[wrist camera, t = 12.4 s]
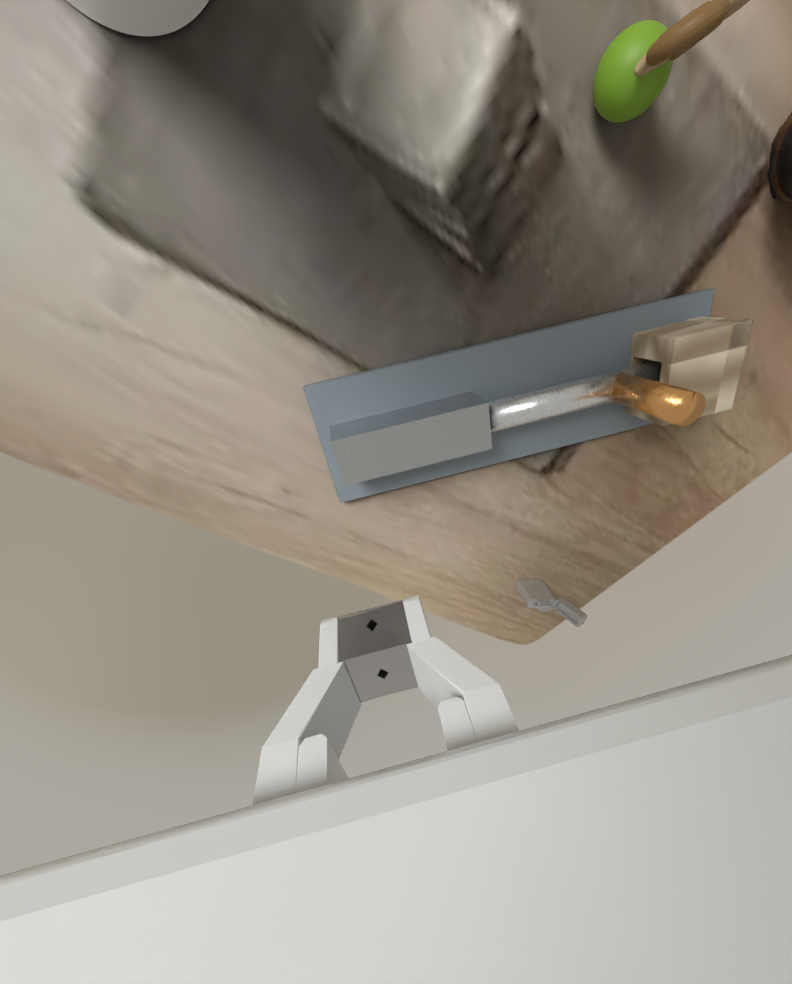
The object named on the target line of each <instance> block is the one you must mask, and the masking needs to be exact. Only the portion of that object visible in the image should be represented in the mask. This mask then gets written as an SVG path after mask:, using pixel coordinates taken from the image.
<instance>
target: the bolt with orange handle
mask: <svg viewBox="0 0 792 984" xmlns="http://www.w3.org/2000/svg"><path fill="white" fill-rule="evenodd" d="M661 366H662V362H658V361H653V362H649V363H645V364H641V365H637V366H633V367H629V368H625V369H621V370H617V371H613V372H609V373H605V374H600V375H596V376H592V377H588V378H584V379H580V380H576V381H572V382H568V383H564V384H560V385H556V386H552V387H548V388H544V389H540V390H536V391H532V392H528V393H523V394H519V395H515V396H511V397H507V398H503V399H499V400H495V401H491V402H488V403H489V415H490V427H491V432H495V431H499V430H503V429H507V428H511V427H515V426H519V425H523V424H527V423H531V422H535V421H539V420H543V419H547V418H551V417H555V416H559V415H563V414H567V413H571V412H575V411H579V410H583V409H587V408H591V407H595V406H599V405H603V404H607V403H611V402H617V403H620V404H623V405H625V406H628V407H631V408H633V409H636V410H638V411H641V412H644V413H646V414H649V415H652V416H654V417H657V418H660V419H662V420H665V421H667V422H670V423H673V424H675V425H678V426H688V425H690V424H692V423H694V422H695V421H696V420H697V419H698V418H699V417H700V416H701V415H702V413H703V411H704V409H705V406H706V399H705V396H704V395H703V394H702V393H699V392H695V391H692V390H688V389H684V388H680V387H677V386H673V385H669V384H666V383H662V382H659V380H660V373H661Z"/></svg>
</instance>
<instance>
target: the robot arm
mask: <svg viewBox="0 0 792 984" xmlns="http://www.w3.org/2000/svg"><path fill="white" fill-rule="evenodd" d="M66 1H68V2H69V3H70V4H71V5H73V6H74V7H75V8H76V9H78V10H79V11H81V12H82V13H83V14H85V15H86V16H88V17H89V18H91V19H93V20H95V21H96V22H98V23H100V24H102V25H104V26H106V27H108V28H111V29H113V30H116V31H119V32H122V33H126V34H130V35H136V36H159V35H164V34H168V33H171V32H174V31H176V30H178V29H180V28H182V27H184V26H185V25H187V24H188V23H190V22H191V21H192V20H193V19H194V18H195V17H196V16H197V15H198V14H199V13H200V12H201V11H202V10H203V9H204V7H205V6H206V4H207V3H208V1H209V0H66ZM416 687H419V689H420V690H421V691H422V692H423V693H424V695H425V696H426V697H427V698H428V699H429V700H430V701H431V702H432V703H433V704H434V705H435V706H436V707H437V708H438V711H439V715H440V719H441V724H442V728H443V732H444V736H445V741H446V745H447V749H448V751H446V752H442V753H438V754H435V755H431V756H428V757H424V758H421V759H417V760H413V761H410V762H406V763H403V764H399V765H396V766H392V767H388V768H385V769H381V770H378V771H374V772H370V773H367V774H363V775H360V776H356V777H353V778H349V779H348V777H347V775H346V773H345V771H344V769H343V767H342V765H341V763H340V761H339V757H340V755H341V752H342V750H343V747H344V745H345V743H346V740H347V738H348V736H349V733H350V730H351V728H352V726H353V723H354V721H355V718H356V716H357V714H358V711H359V709H360V706H361V703H362V702H365V701H368V700H371V699H375V698H378V697H381V696H385V695H388V694H392V693H396V692H400V691H404V690H408V689H412V688H416ZM0 984H792V655H789V656H786V657H782V658H779V659H775V660H772V661H768V662H764V663H761V664H757V665H754V666H750V667H746V668H743V669H739V670H736V671H732V672H728V673H725V674H721V675H718V676H714V677H711V678H707V679H704V680H700V681H696V682H693V683H689V684H685V685H682V686H678V687H675V688H672V689H668V690H664V691H660V692H657V693H653V694H650V695H646V696H642V697H639V698H635V699H632V700H628V701H625V702H621V703H618V704H614V705H610V706H607V707H603V708H599V709H596V710H592V711H589V712H585V713H582V714H578V715H574V716H571V717H567V718H564V719H560V720H556V721H553V722H549V723H546V724H542V725H539V726H535V727H531V728H528V729H525V730H521V731H519V730H518V727H517V725H516V723H515V720H514V718H513V716H512V713H511V711H510V709H509V706H508V704H507V702H506V699H505V697H504V694H503V692H502V690H501V688H500V685H499V684H498V683H497V682H495V681H494V680H493V679H492V678H490V677H489V676H488V675H486V674H485V673H484V672H482V671H481V670H480V669H478V668H477V667H476V666H474V665H473V664H472V663H470V662H469V661H468V660H466V659H465V658H464V657H463V656H461V655H460V654H458V653H457V652H456V651H455V650H453V649H452V648H451V647H449V646H448V645H447V644H445V643H444V642H442V641H441V640H440V639H439V638H437V637H433V638H431V635H430V631H429V628H428V625H427V621H426V618H425V614H424V611H423V607H422V604H421V600H420V597H419V596H418V595H417V596H414V597H410V598H407V599H403V602H402V600H400V601H396V602H392V603H389V604H385V605H381V606H378V607H374V608H371V609H367V610H363V611H359V612H355V613H350V614H346V615H342V616H339V617H335V618H331V619H326V620H322V622H321V625H320V643H319V668H317V669H314V670H313V671H312V673H311V674H310V676H309V677H308V679H307V680H306V682H305V683H304V685H303V686H302V688H301V689H300V691H299V693H298V694H297V695H296V697H295V699H294V700H293V702H292V703H291V705H290V706H289V708H288V709H287V711H286V712H285V714H284V715H283V717H282V718H281V720H280V721H279V723H278V725H277V726H276V728H275V729H274V731H273V732H272V734H271V735H270V737H269V738H268V740H267V741H266V743H265V744H264V746H263V747H262V752H261V758H260V764H259V770H258V776H257V782H256V789H255V795H254V801H253V805H252V806H249V807H245V808H241V809H238V810H235V811H231V812H227V813H224V814H220V815H216V816H213V817H210V818H206V819H202V820H199V821H195V822H191V823H188V824H184V825H181V826H177V827H173V828H170V829H167V830H163V831H159V832H156V833H152V834H148V835H145V836H141V837H137V838H134V839H130V840H127V841H123V842H120V843H116V844H112V845H109V846H105V847H102V848H98V849H95V850H91V851H87V852H84V853H80V854H77V855H73V856H69V857H66V858H62V859H58V860H55V861H51V862H48V863H44V864H40V865H37V866H33V867H30V868H26V869H23V870H19V871H16V872H12V873H8V874H5V875H2V876H0Z"/></svg>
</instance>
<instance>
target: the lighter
mask: <svg viewBox="0 0 792 984" xmlns="http://www.w3.org/2000/svg"><path fill="white" fill-rule="evenodd" d="M515 588H516V590H517V591H518V593H519V595H520V596H521V598H522V599H523V601H524V603H525V604H526V606H527V607H528V608H537V609H538V611H550V610H551V608H553V609H554V610H556V611H557V612H558V613H559V614H561V615H562V616H563V617H565V618H566V619H567V620H569V621H570V622H571V623H572V624H574V625H575V626H577V627H579V626H580V625H582V624H583V623H584V621H585V619H586V618H587V615H586V614H585V613H584V612H582V611H581V610H580V609H578V608H577V607H575V606H574V605H573V604H571V603H570V602H569V601H567V600H566V599H564V598H563V597H561V598H559V599H557V600H556V599H555V598H554V596H553V595H552V594H551V592H550V591H549V590H548V588H547V587H546V586H545V584H544V583H543V581H542V580H539V579H518V580H517V582H516V585H515Z"/></svg>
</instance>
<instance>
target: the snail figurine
mask: <svg viewBox="0 0 792 984" xmlns="http://www.w3.org/2000/svg"><path fill="white" fill-rule="evenodd" d="M748 1H749V0H713V1H708V2H706V3H704V4H702V5H701V6H700V7H698V8H696V9H694V10H693V11H692V12H690V13H689V14H688V15H686V16H685V17H684V18H683V19H681V20H680V21H679V22H677V23H676V24H675V25H674V26H672V27H671V28H669V29H667V28H666V27H665V26H664V25H663V24H662V23H660V22H658V21H654V20H645V21H640V22H637V23H635V24H633V25H631V26H629V27H628V28H626V29H625V30H624V31H622V32H621V33H620V34H619V35H618V36H617V37H616V38H615V39H614V40H613V42H612V43H611V44H610V45H609V47H608V48H607V50H606V51H605V53H604V55H603V56H602V58H601V60H600V63H599V65H598V68H597V71H596V74H595V78H594V84H593V99H594V104H595V107H596V109H597V111H598V113H599V114H600V115H601V116H602V117H603V118H604V119H606V120H608V121H610V122H616V123H619V122H625V121H629V120H631V119H633V118H635V117H637V116H639V115H640V114H641V113H643V112H644V111H645V110H646V109H647V108H648V107H649V106H650V105H651V104H652V103H653V102H654V101H655V100H656V98H657V97H658V96H659V94H660V93H661V91H662V90H663V88H664V86H665V84H666V82H667V80H668V77H669V75H670V72H671V68H672V64H673V60H675V59H677V58H678V57H679V56H681V55H682V54H683V53H685V52H686V51H687V50H689V49H690V48H691V47H693V46H694V45H695V44H697V43H698V42H699V41H700V40H702V39H703V38H704V37H706V36H707V35H708V34H710V33H711V32H712V31H713V30H715V29H716V28H717V27H718V26H719V25H720V24H721V23H722V22H723V20H725V19H726V18H728V17H729V16H731V15H732V14H733V13H735V12H736V11H737V10H739V9H740V8H741V7H742V6H743V5H745V4H746V3H747V2H748Z"/></svg>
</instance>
